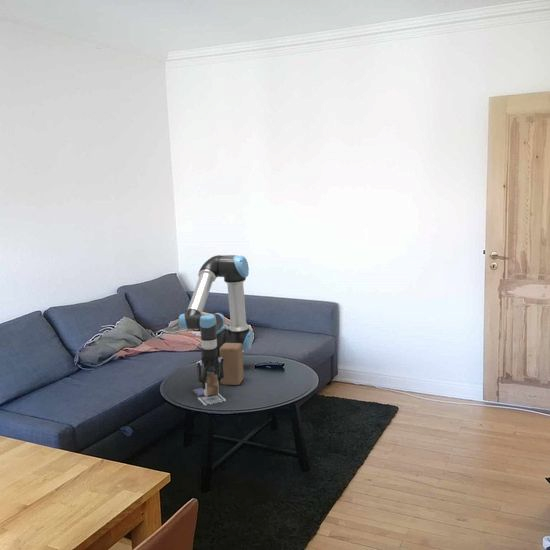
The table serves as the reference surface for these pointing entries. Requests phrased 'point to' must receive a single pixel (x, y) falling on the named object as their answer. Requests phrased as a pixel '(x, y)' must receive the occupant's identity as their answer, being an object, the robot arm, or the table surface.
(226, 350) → the wooden block
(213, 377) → the stamp
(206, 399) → the print card
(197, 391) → the ink pad
